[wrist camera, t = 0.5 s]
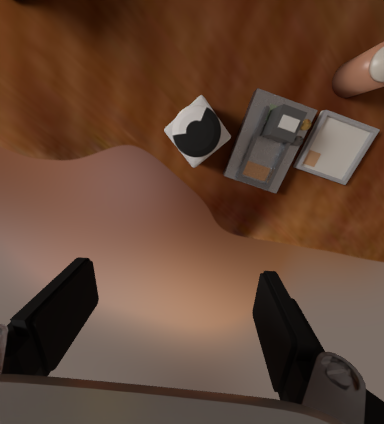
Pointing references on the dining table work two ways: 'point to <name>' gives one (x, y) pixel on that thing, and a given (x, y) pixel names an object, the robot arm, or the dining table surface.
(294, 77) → the dining table surface
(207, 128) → the medicine bottle
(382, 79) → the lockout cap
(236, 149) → the breaker panel
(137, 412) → the robot arm
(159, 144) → the dining table surface
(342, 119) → the pad
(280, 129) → the toggle
